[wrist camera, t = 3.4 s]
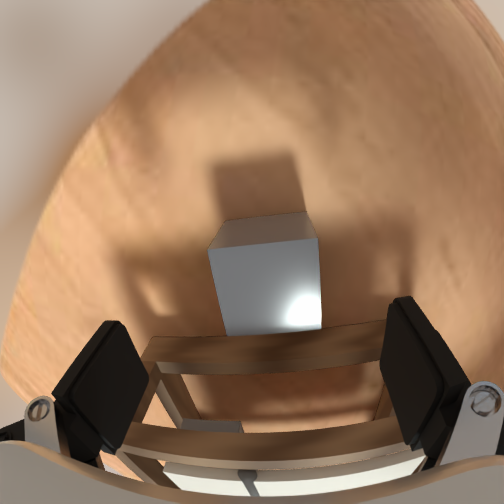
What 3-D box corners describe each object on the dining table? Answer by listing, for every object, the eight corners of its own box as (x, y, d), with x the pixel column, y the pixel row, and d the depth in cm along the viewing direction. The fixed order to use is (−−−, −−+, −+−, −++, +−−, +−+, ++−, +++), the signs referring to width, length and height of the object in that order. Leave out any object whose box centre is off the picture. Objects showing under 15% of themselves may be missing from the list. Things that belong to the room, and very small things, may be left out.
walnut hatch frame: (411, 314, 19) (470, 417, 9) (377, 435, 25) (391, 506, 16) (152, 336, 21) (97, 436, 12) (206, 446, 28) (190, 516, 18)
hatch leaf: (408, 392, 14) (429, 452, 9) (370, 474, 19) (375, 512, 15) (178, 410, 16) (159, 469, 11) (226, 484, 21) (219, 521, 17)
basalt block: (306, 211, 17) (317, 237, 12) (311, 283, 18) (321, 328, 14) (225, 220, 17) (206, 249, 13) (238, 290, 19) (227, 336, 14)
